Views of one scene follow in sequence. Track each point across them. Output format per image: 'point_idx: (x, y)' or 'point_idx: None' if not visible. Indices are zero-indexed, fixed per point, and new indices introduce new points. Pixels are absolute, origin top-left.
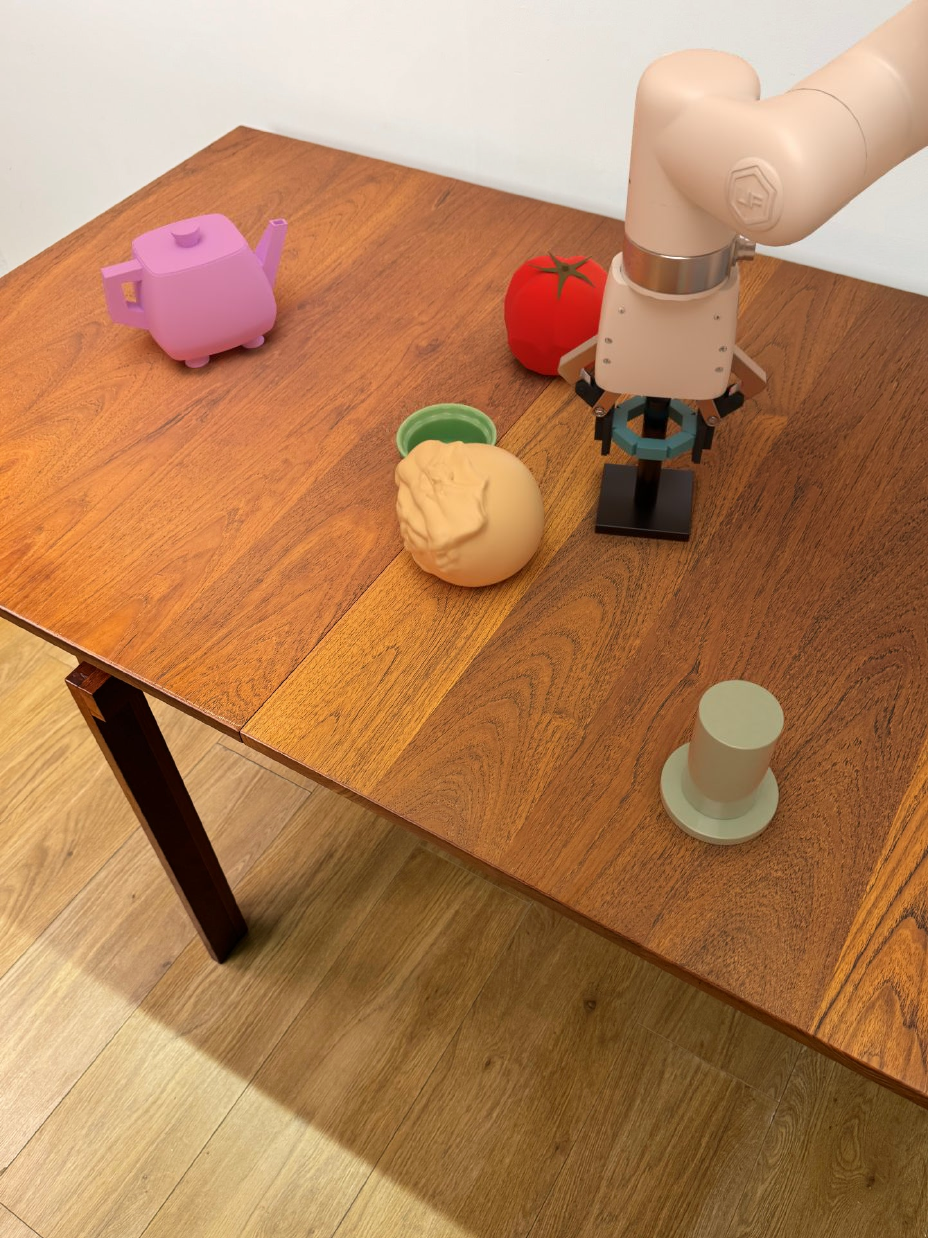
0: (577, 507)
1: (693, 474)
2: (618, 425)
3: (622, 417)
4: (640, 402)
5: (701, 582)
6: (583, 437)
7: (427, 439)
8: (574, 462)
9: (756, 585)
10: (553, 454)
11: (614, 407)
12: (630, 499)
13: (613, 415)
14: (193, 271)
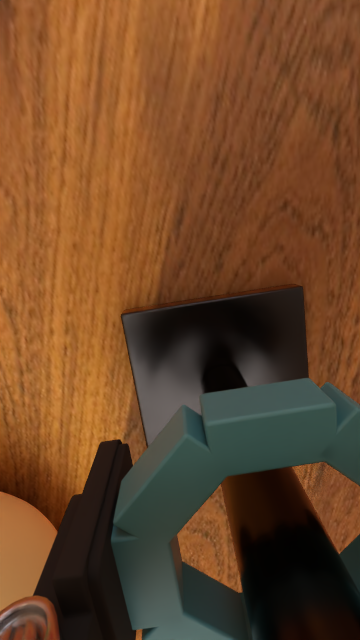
0: (106, 412)
1: (303, 296)
2: (154, 618)
3: (156, 578)
4: (206, 481)
5: (332, 502)
6: (51, 219)
7: None
8: (61, 301)
9: None
10: (12, 290)
11: (113, 622)
12: (196, 398)
13: (122, 632)
14: None
